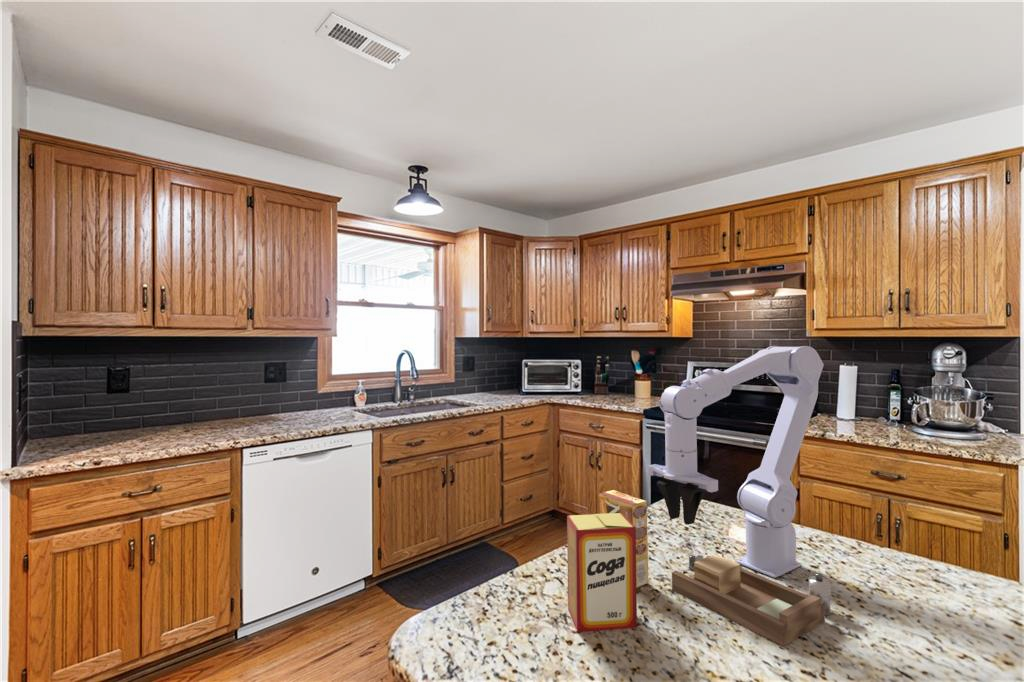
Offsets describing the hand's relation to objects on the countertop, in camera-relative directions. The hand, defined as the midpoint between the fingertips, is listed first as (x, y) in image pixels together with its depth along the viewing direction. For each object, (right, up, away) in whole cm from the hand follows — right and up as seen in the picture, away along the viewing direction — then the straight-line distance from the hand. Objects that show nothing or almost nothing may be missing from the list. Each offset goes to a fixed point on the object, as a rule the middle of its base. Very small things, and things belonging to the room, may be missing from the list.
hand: (681, 520), depth 94 cm
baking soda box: (-18, -11, -14) cm, 25 cm away
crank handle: (+4, -11, +4) cm, 12 cm away
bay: (+7, -10, -11) cm, 16 cm away
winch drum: (+18, -10, -13) cm, 25 cm away
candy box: (-11, -11, -1) cm, 16 cm away
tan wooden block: (+4, -9, -6) cm, 12 cm away
